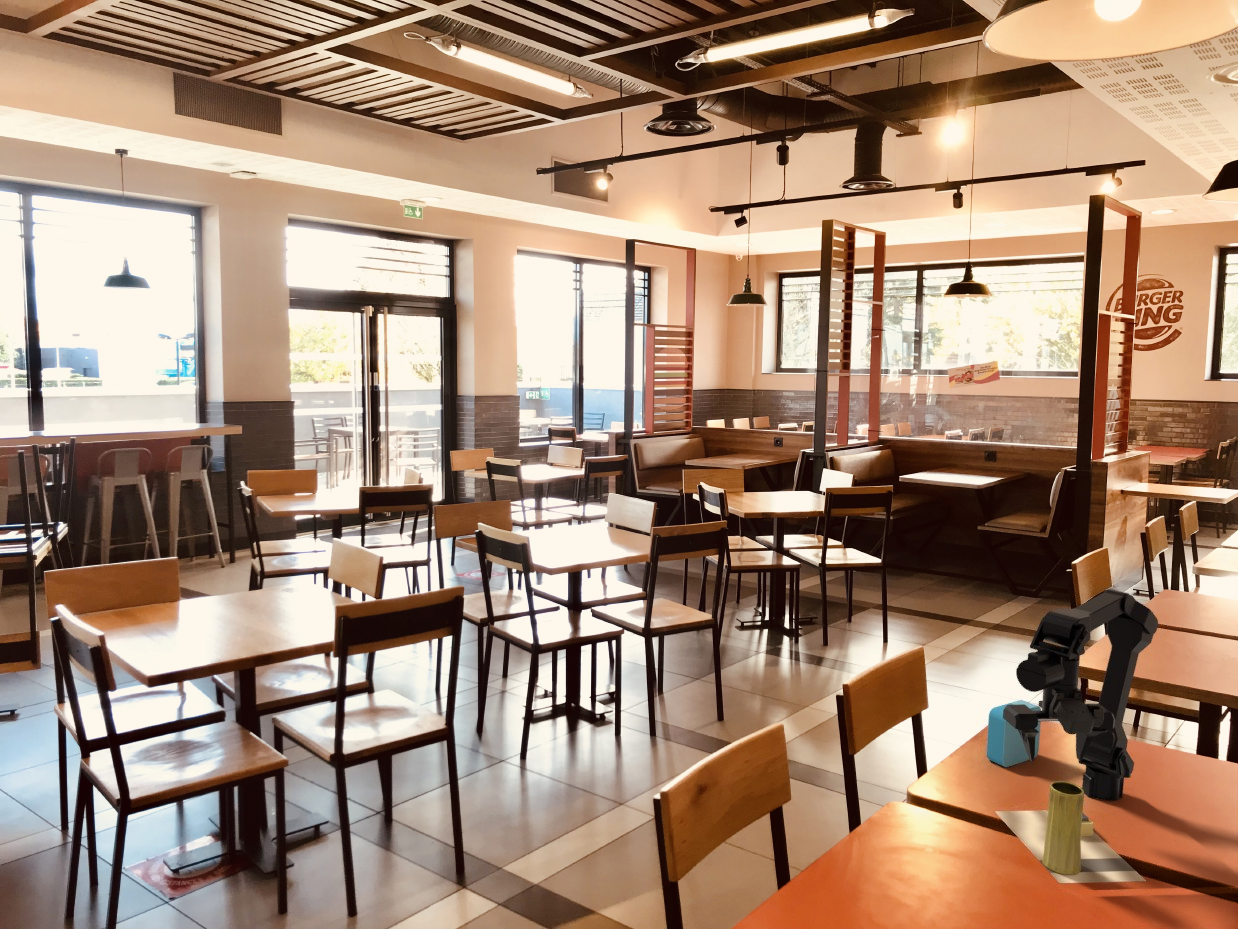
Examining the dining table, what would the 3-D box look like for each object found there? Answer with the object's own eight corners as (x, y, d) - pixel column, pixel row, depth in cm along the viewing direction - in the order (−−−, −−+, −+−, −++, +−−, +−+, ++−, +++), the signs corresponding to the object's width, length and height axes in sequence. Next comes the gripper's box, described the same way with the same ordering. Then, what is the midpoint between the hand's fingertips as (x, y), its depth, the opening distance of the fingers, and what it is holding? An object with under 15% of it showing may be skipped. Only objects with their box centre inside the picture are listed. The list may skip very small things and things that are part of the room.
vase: (1074, 880, 157) (1080, 800, 155) (1037, 866, 161) (1042, 788, 159) (1085, 865, 161) (1091, 787, 159) (1048, 852, 165) (1053, 776, 163)
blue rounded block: (1020, 749, 209) (1024, 698, 207) (1038, 757, 205) (1042, 705, 203) (985, 761, 203) (988, 708, 201) (1003, 769, 199) (1006, 715, 197)
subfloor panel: (1070, 813, 180) (1070, 809, 180) (1145, 885, 156) (1146, 881, 156) (994, 815, 179) (994, 811, 179) (1059, 887, 156) (1059, 883, 156)
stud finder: (1052, 817, 177) (1053, 802, 177) (1072, 816, 178) (1073, 801, 177) (1071, 836, 170) (1072, 820, 170) (1092, 835, 171) (1093, 820, 170)
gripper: (1033, 697, 164) (1027, 780, 166) (1135, 695, 165) (1129, 779, 167) (1004, 674, 175) (999, 753, 177) (1100, 673, 176) (1094, 752, 178)
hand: (1055, 760), depth 174 cm, fingers open, 9 cm apart
